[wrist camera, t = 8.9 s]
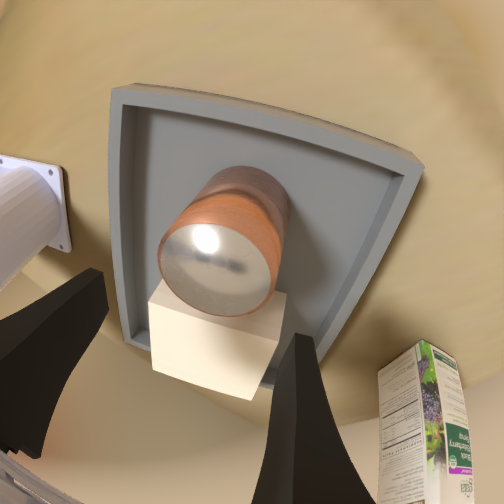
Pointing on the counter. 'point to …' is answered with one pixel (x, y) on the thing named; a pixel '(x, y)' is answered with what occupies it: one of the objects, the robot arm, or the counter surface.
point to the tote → (277, 165)
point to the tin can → (227, 243)
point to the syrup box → (423, 431)
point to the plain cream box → (213, 343)
